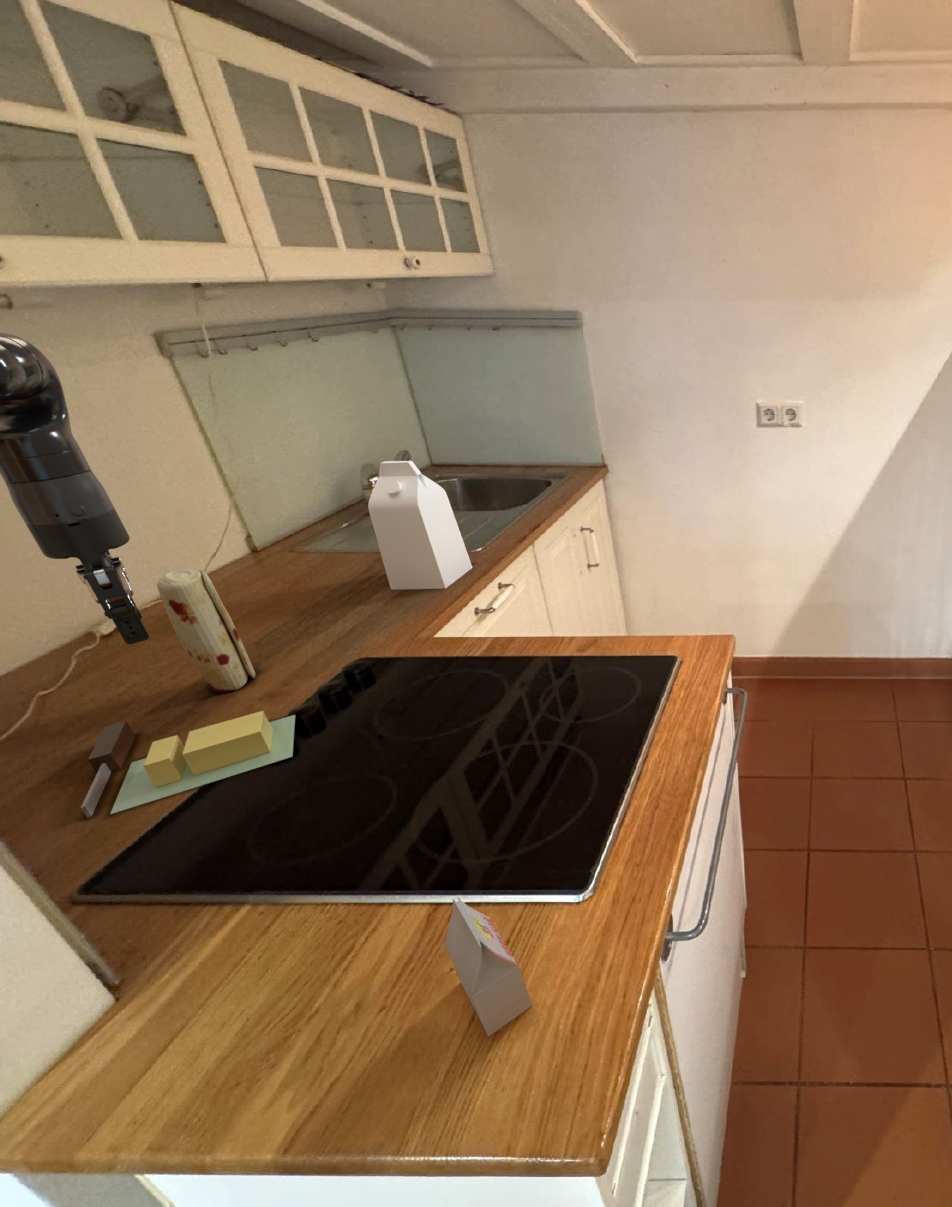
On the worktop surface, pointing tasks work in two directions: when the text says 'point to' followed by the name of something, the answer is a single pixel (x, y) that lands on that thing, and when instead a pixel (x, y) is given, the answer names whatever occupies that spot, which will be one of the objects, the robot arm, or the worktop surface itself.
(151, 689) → the worktop surface
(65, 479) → the robot arm
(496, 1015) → the gable top carton
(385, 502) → the milk
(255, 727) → the butter block
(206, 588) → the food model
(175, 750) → the block
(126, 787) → the butter dish
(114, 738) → the butter knife
